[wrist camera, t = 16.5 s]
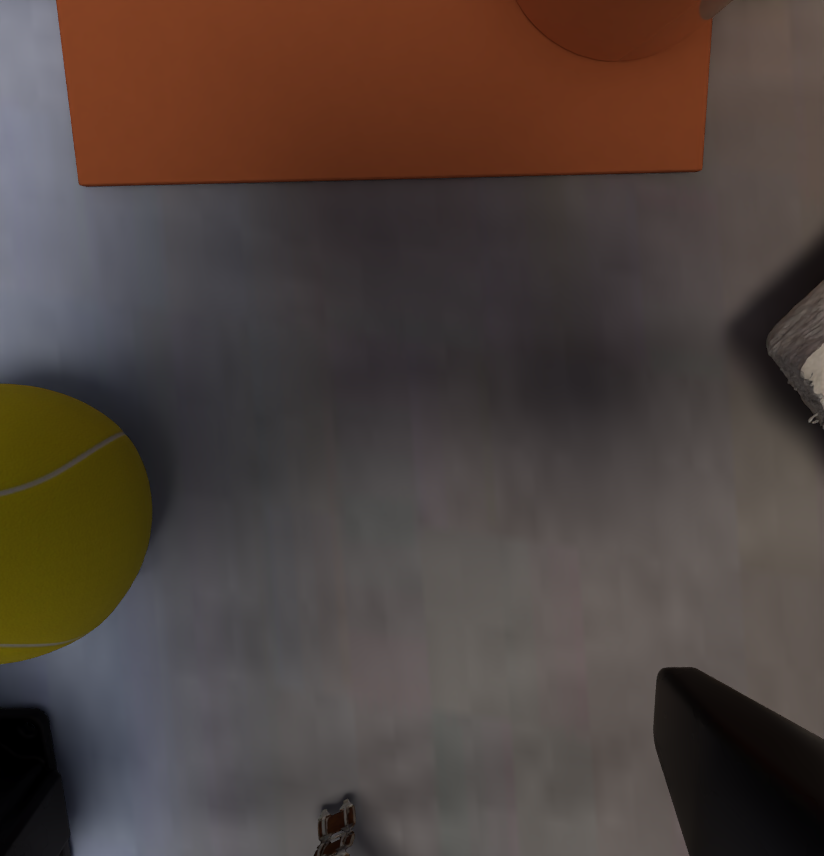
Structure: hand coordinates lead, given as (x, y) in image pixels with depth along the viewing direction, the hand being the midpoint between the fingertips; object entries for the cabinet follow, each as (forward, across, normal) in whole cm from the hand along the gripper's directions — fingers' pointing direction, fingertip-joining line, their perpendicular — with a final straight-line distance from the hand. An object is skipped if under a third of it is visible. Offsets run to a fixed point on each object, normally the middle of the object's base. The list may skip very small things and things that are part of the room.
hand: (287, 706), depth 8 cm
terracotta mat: (+13, -1, -12) cm, 18 cm away
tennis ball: (+13, +9, +1) cm, 16 cm away
